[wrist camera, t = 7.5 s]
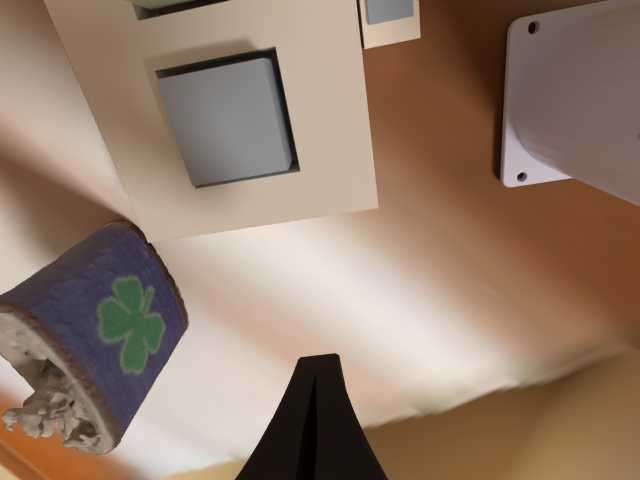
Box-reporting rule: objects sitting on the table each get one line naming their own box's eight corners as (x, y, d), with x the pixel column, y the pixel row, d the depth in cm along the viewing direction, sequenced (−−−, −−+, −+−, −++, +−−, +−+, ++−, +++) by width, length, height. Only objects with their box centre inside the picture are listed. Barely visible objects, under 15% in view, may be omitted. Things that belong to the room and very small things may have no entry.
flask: (98, 223, 21) (-97, 348, 12) (141, 212, 21) (-22, 334, 11) (162, 337, 25) (57, 502, 15) (199, 330, 25) (116, 495, 15)
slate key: (274, 60, 16) (263, 57, 13) (294, 156, 18) (287, 170, 15) (182, 78, 16) (155, 79, 14) (211, 170, 18) (192, 186, 15)
